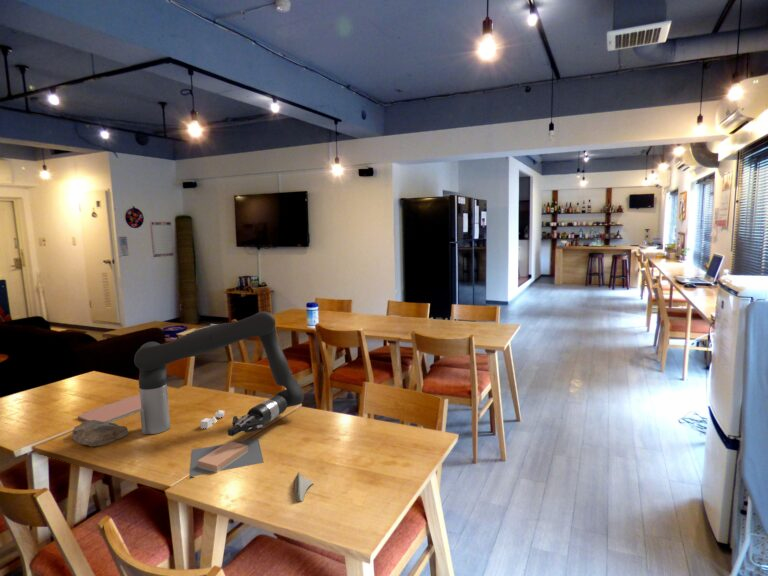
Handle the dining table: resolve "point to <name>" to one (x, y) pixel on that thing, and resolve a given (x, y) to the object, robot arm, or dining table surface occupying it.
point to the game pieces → (208, 422)
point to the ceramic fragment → (301, 487)
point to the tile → (222, 456)
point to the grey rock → (98, 432)
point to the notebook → (114, 410)
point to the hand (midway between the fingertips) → (229, 433)
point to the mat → (247, 459)
